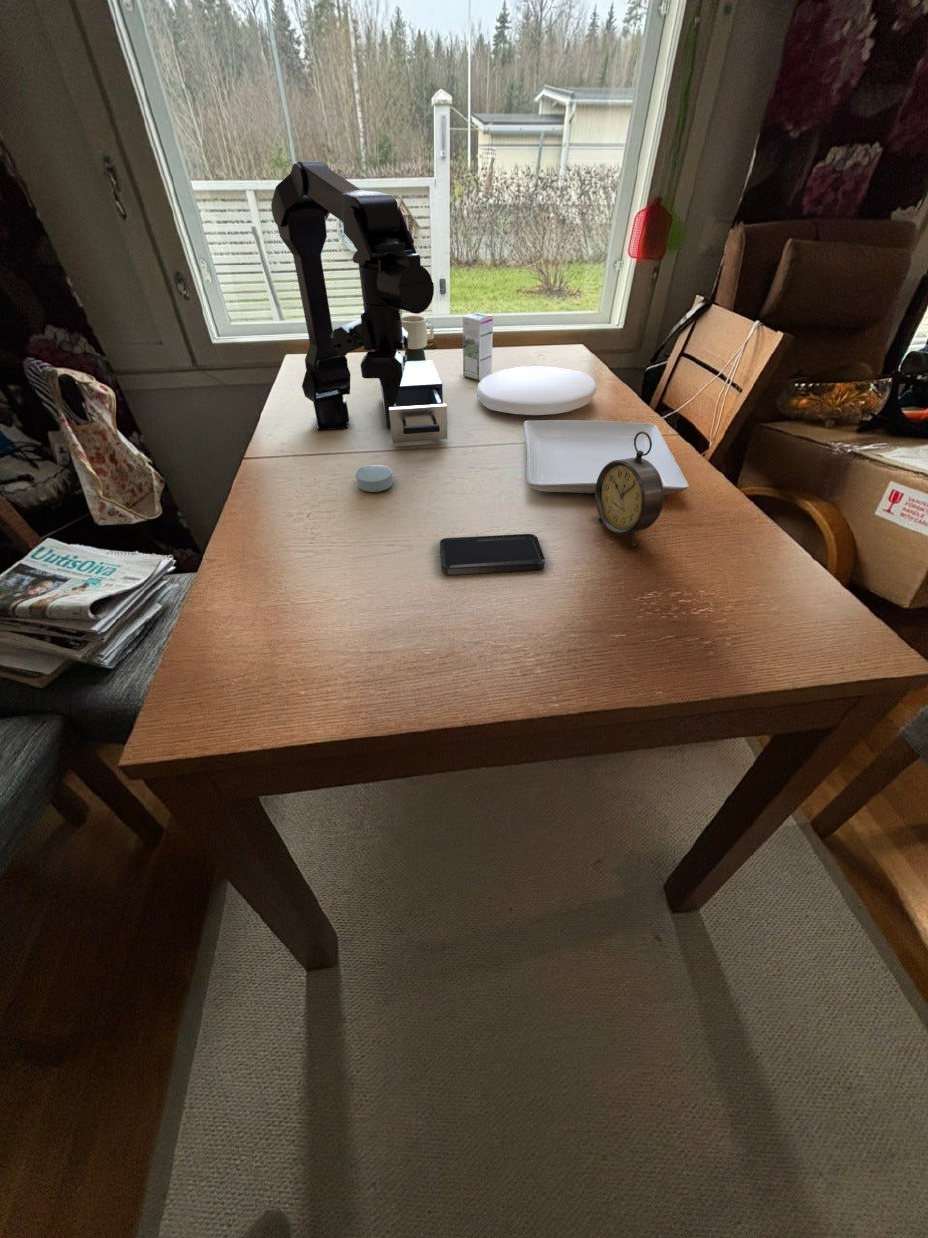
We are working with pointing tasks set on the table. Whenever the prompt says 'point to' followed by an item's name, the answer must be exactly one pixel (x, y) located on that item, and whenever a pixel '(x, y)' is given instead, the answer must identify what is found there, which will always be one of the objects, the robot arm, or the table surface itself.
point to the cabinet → (416, 381)
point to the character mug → (416, 336)
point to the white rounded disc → (536, 390)
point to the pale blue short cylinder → (374, 478)
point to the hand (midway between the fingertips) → (391, 404)
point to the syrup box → (477, 345)
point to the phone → (491, 554)
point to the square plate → (592, 453)
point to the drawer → (418, 416)
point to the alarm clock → (629, 494)
